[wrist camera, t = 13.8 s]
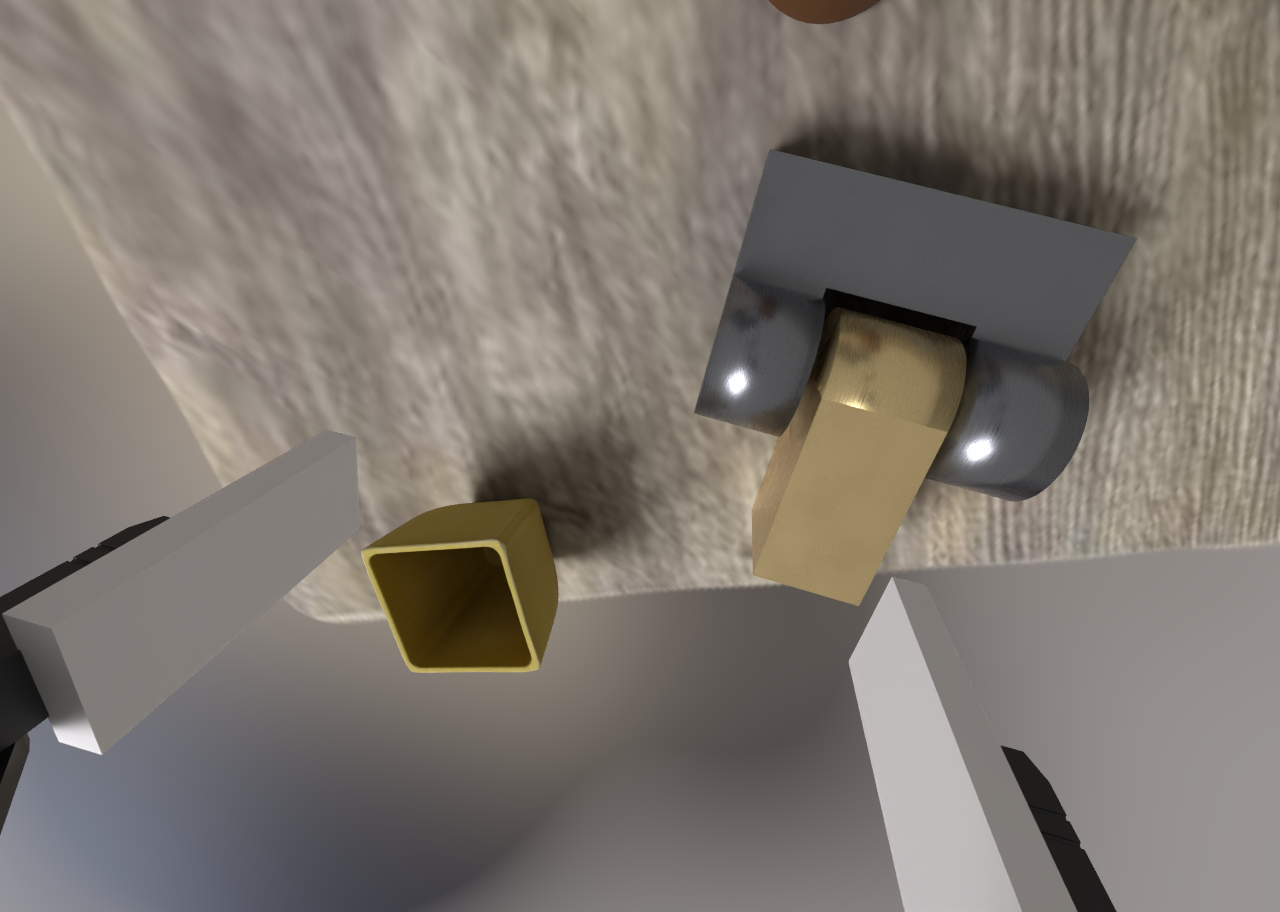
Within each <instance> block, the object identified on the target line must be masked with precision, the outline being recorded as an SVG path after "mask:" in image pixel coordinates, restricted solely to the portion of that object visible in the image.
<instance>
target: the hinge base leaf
mask: <svg viewBox="0 0 1280 912" xmlns="http://www.w3.org/2000/svg"><path fill="white" fill-rule="evenodd" d="M1136 239H1137V238H1134V237H1129V236H1125V235H1121V234H1117V233H1113V232H1109V231H1105V230H1101V229H1097V228H1092V227H1088V226H1084V225H1080V224H1076V223H1072V222H1068V221H1064V220H1060V219H1055V218H1051V217H1047V216H1043V215H1039V214H1035V213H1031V212H1027V211H1023V210H1018V209H1014V208H1010V207H1006V206H1002V205H998V204H994V203H990V202H986V201H981V200H977V199H973V198H969V197H965V196H961V195H957V194H953V193H949V192H944V191H940V190H936V189H932V188H928V187H924V186H920V185H916V184H912V183H907V182H903V181H899V180H895V179H891V178H887V177H883V176H879V175H875V174H871V173H866V172H862V171H858V170H854V169H850V168H846V167H842V166H838V165H834V164H829V163H825V162H821V161H817V160H813V159H809V158H805V157H801V156H797V155H792V154H788V153H784V152H780V151H776V150H772V149H770V151H769V153H768V156H767V160H766V163H765V167H764V170H763V174H762V177H761V181H760V184H759V188H758V191H757V195H756V198H755V201H754V205H753V208H752V212H751V215H750V219H749V222H748V226H747V229H746V233H745V236H744V240H743V243H742V247H741V250H740V254H739V257H738V260H737V264H736V267H735V271H734V274H733V278H732V281H731V285H730V288H729V292H728V295H727V299H726V302H725V306H724V309H723V312H722V316H721V319H720V323H719V326H718V330H717V333H716V337H715V340H714V344H713V347H712V351H711V354H710V358H709V361H708V365H707V368H706V372H705V375H704V379H703V382H702V386H701V389H700V393H699V397H698V400H697V404H696V408H695V411H694V413H695V414H699V415H702V416H706V417H709V418H713V419H717V420H720V421H724V422H727V423H731V424H735V425H738V426H742V427H745V428H749V429H753V430H756V431H760V432H763V433H767V434H771V435H774V436H778V437H779V436H781V435H782V434H783V433H784V432H785V430H786V429H787V427H788V426H789V424H790V422H791V420H792V418H793V416H794V414H795V412H796V410H797V408H798V406H799V403H800V401H801V398H802V396H803V393H804V391H805V388H806V385H807V382H808V380H809V377H810V374H811V371H812V368H813V364H814V361H815V358H816V354H817V351H818V347H819V343H820V339H821V335H822V330H823V325H824V318H825V301H824V299H822V298H823V295H824V292H825V290H826V288H830V289H834V290H837V291H841V292H845V293H849V294H853V295H857V296H861V297H865V298H868V299H872V300H876V301H880V302H884V303H888V304H892V305H895V306H899V307H903V308H907V309H911V310H915V311H919V312H923V313H926V314H930V315H934V316H938V317H942V318H946V319H950V320H953V322H952V324H951V326H950V328H949V330H948V332H947V334H946V335H947V336H951V337H955V338H957V339H959V340H960V341H961V343H962V344H963V346H964V349H965V353H966V377H965V384H964V388H963V393H962V397H961V400H960V404H959V406H958V409H957V412H956V415H955V417H954V420H953V422H952V424H951V426H950V429H949V431H948V433H947V435H946V437H945V439H944V441H943V442H942V444H941V446H940V448H939V450H938V452H937V454H936V456H935V458H934V460H933V462H932V464H931V466H930V468H929V470H928V472H927V474H926V476H925V478H929V479H932V480H936V481H940V482H943V483H947V484H950V485H954V486H958V487H961V488H965V489H968V490H972V491H975V492H979V493H983V494H986V495H990V496H993V497H997V498H1001V499H1004V500H1008V501H1023V500H1026V499H1029V498H1031V497H1033V496H1035V495H1037V494H1039V493H1040V492H1042V491H1043V490H1044V489H1046V488H1047V487H1048V486H1049V485H1050V484H1051V483H1052V482H1053V481H1054V480H1055V479H1056V478H1057V477H1058V476H1059V475H1060V474H1061V472H1062V471H1063V470H1064V469H1065V467H1066V466H1067V464H1068V463H1069V461H1070V460H1071V458H1072V456H1073V455H1074V453H1075V451H1076V449H1077V447H1078V445H1079V442H1080V440H1081V437H1082V435H1083V432H1084V429H1085V425H1086V421H1087V416H1088V410H1089V392H1088V387H1087V383H1086V380H1085V377H1084V376H1083V374H1082V372H1081V371H1080V370H1079V369H1078V368H1077V367H1076V366H1074V365H1072V364H1070V363H1067V362H1066V360H1067V359H1068V357H1069V355H1070V353H1071V352H1072V350H1073V348H1074V346H1075V345H1076V343H1077V341H1078V340H1079V338H1080V336H1081V334H1082V333H1083V331H1084V329H1085V327H1086V326H1087V324H1088V322H1089V321H1090V319H1091V317H1092V315H1093V314H1094V312H1095V310H1096V308H1097V307H1098V305H1099V303H1100V302H1101V300H1102V298H1103V296H1104V295H1105V293H1106V291H1107V289H1108V288H1109V286H1110V284H1111V283H1112V281H1113V279H1114V277H1115V276H1116V274H1117V272H1118V270H1119V269H1120V267H1121V265H1122V264H1123V262H1124V260H1125V258H1126V257H1127V255H1128V253H1129V251H1130V250H1131V248H1132V246H1133V245H1134V243H1135V241H1136Z"/></svg>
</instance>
